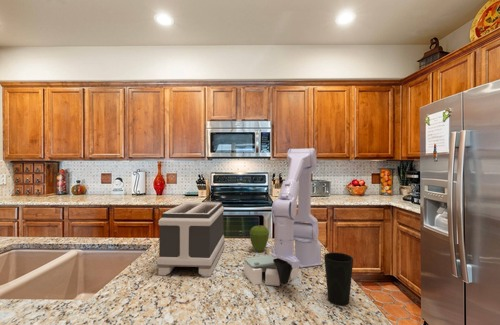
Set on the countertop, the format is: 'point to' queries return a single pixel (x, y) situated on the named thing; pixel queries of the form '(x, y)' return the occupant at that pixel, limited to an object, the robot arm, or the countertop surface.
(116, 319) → the countertop surface
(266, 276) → the usb wall charger
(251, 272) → the c-shaped bracket
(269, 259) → the cover
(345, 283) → the cup
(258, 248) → the olive green rounded lump
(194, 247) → the toaster
